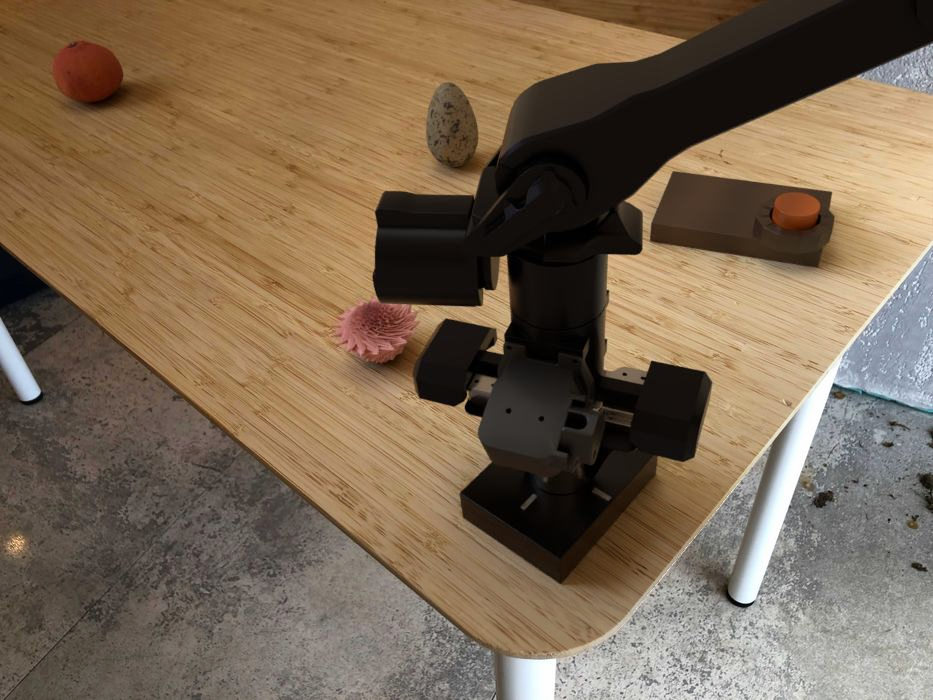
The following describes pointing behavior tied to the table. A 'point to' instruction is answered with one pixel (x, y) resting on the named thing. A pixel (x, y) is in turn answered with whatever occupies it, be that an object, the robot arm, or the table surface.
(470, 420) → the table surface
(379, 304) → the flower
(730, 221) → the button block
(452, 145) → the decorative egg
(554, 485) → the dial
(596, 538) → the panel
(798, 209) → the button
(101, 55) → the fruit
